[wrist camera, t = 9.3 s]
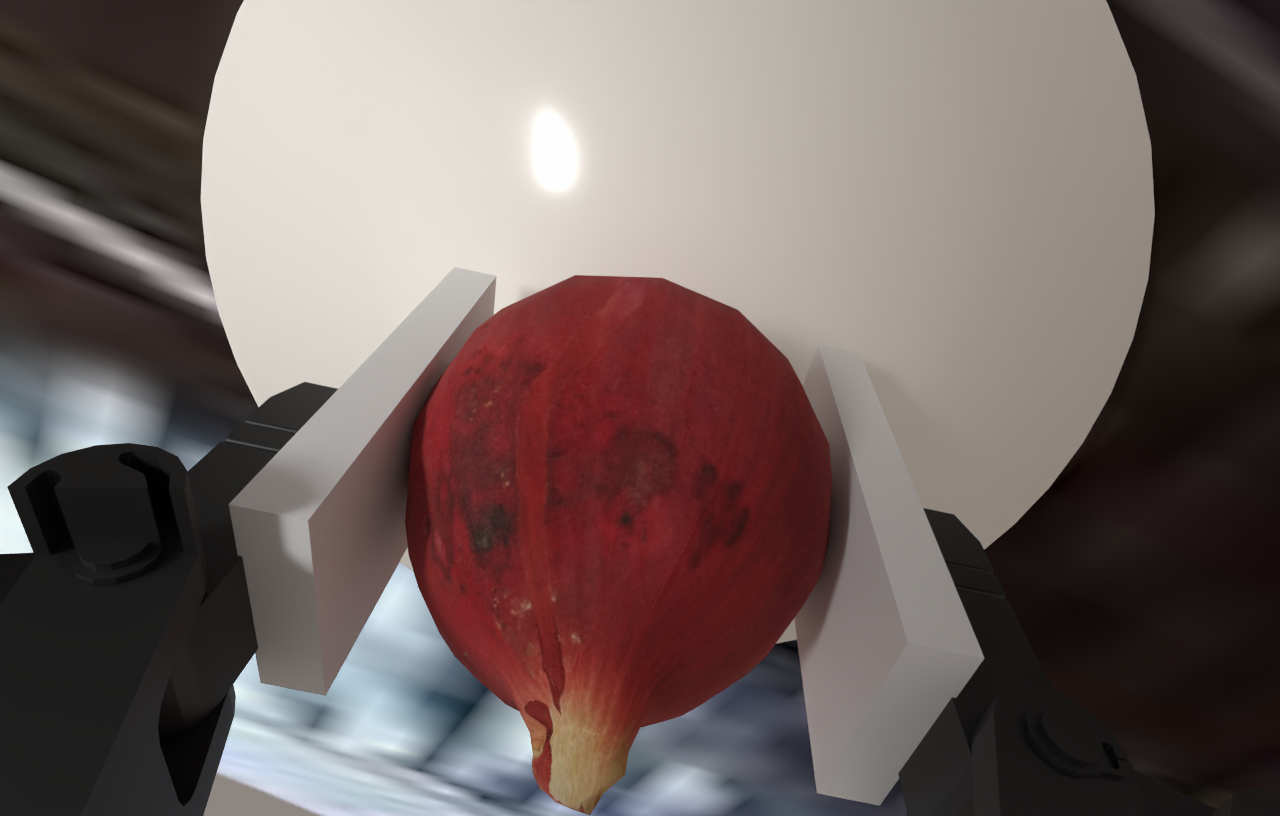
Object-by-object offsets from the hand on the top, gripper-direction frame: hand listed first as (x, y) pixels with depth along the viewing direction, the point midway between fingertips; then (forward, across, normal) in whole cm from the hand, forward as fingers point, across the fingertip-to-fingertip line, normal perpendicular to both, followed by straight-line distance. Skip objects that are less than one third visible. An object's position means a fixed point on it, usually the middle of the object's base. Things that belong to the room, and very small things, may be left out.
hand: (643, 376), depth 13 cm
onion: (0, 0, 0) cm, 0 cm away
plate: (+2, 0, 0) cm, 2 cm away
